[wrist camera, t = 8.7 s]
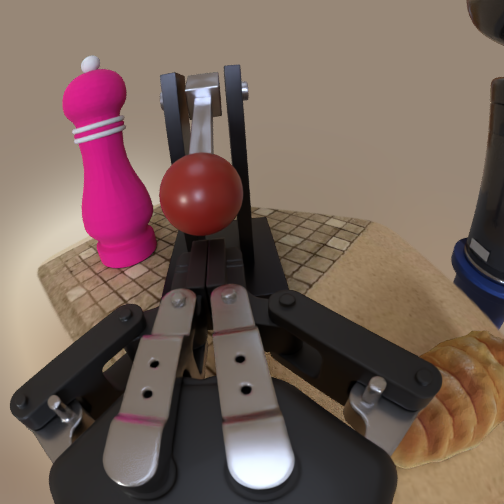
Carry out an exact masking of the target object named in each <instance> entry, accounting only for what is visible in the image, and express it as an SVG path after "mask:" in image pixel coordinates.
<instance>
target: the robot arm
mask: <svg viewBox="0 0 504 504" xmlns="http://www.w3.org/2000/svg"><path fill="white" fill-rule="evenodd" d="M467 8H468V12H469V16H470V18H471V20H472V22H473V24H474V25H475V26H476V28H477V29H478V30H479V31H480V32H481V33H482V34H483V35H485V36H486V37H488V38H489V39H491V40H493V41H494V42H496V43H498V44H501V45H503V46H504V0H467ZM490 102H491V103H490V116H489V131H488V142H487V150H486V158H485V165H484V170H483V176H482V181H481V187H480V192H479V197H478V201H477V205H476V210H475V214H474V218H473V222H472V225H471V229H470V232H469V236H468V239H467V241H466V243H465V246H464V250H463V252H464V256H465V258H466V260H467V262H468V263H469V264H470V266H471V267H472V268H473V269H474V270H475V271H476V272H478V273H479V274H480V275H481V276H483V277H484V278H486V279H487V280H489V281H491V282H493V283H495V284H497V285H500V286H503V287H504V77H498V78H495V79H493V80H492V82H491V88H490ZM208 330H214V333H213V345H214V355H215V364H216V373H217V375H216V376H212V377H209V378H205V370H206V361H207V351H208V341H207V334H208ZM123 348H124V349H125V351H126V352H127V353H126V354H125V355H123V356H122V357H121V358H120V359H119V360H118V361H117V362H115V363H114V364H113V365H112V366H111V367H110V368H109V369H107V370H106V371H105V372H102V370H103V366H104V365H105V364H106V363H107V362H108V361H109V360H110V359H111V358H112V357H114V356H115V355H116V354H117V353H118V352H119V351H121V350H122V349H123ZM265 352H270V354H271V356H272V357H273V358H274V359H275V360H277V361H278V362H279V363H281V364H282V365H283V366H285V367H286V368H288V369H289V370H291V371H292V372H293V373H295V374H296V375H298V376H299V377H301V378H302V379H303V380H305V381H306V382H308V383H309V384H311V385H312V386H314V387H315V388H317V389H318V390H320V391H321V392H323V393H324V394H326V395H327V396H329V397H330V398H332V399H333V400H335V401H336V402H338V403H340V404H341V405H343V406H344V409H343V415H344V418H345V420H346V421H347V423H348V424H350V425H351V426H352V427H353V428H354V429H355V430H354V429H352V428H351V427H349V426H348V425H347V424H345V423H344V422H342V421H341V420H339V419H338V418H337V417H335V416H334V415H332V414H331V413H330V412H328V411H327V410H325V409H324V408H323V407H321V406H320V405H319V404H317V403H316V402H315V401H313V400H312V399H311V398H309V397H308V396H307V395H305V394H304V393H303V392H301V391H300V390H299V389H297V388H296V387H295V386H293V385H291V384H289V383H287V382H285V381H283V380H280V379H277V378H273V377H271V375H270V371H269V368H268V364H267V360H266V356H265ZM441 386H442V375H441V373H440V371H439V369H438V368H437V367H436V366H435V365H433V364H432V363H430V362H428V361H426V360H424V359H422V358H420V357H418V356H416V355H415V354H413V353H411V352H409V351H407V350H405V349H403V348H401V347H399V346H397V345H396V344H394V343H392V342H390V341H388V340H386V339H384V338H382V337H381V336H379V335H377V334H375V333H373V332H371V331H369V330H367V329H366V328H364V327H362V326H360V325H358V324H356V323H354V322H353V321H351V320H349V319H347V318H345V317H343V316H341V315H340V314H338V313H336V312H334V311H332V310H330V309H328V308H327V307H325V306H323V305H321V304H319V303H317V302H316V301H314V300H312V299H310V298H308V297H306V296H305V295H303V294H301V293H299V292H297V291H294V290H281V291H278V292H275V293H274V294H272V295H271V296H270V297H269V299H265V298H259V297H256V296H254V295H252V294H251V293H249V291H248V290H247V288H246V282H245V274H244V266H243V258H242V252H241V251H240V250H239V249H238V248H237V247H231V248H226V244H225V238H217V239H209V240H199V241H193V242H192V248H191V252H185V253H182V254H181V255H180V257H179V258H178V259H177V263H176V268H175V273H174V277H173V282H172V287H171V291H170V292H168V293H167V294H166V295H165V296H164V297H163V298H162V300H161V304H160V306H158V307H156V308H154V309H150V310H147V311H144V312H143V311H142V309H141V307H140V306H138V305H135V304H126V305H123V306H121V307H119V308H117V309H116V310H114V311H113V312H112V313H111V314H109V315H108V316H107V317H106V318H104V319H103V320H102V321H100V322H99V323H98V324H97V325H95V326H94V327H93V328H92V329H90V330H89V331H88V332H87V333H85V334H84V335H83V336H82V337H80V338H79V339H78V340H77V341H75V342H74V343H73V344H72V345H71V346H69V347H68V348H67V349H66V350H64V351H63V352H62V353H61V354H59V355H58V356H57V357H56V358H55V359H54V360H52V361H51V362H50V363H49V364H47V365H46V366H45V367H44V368H43V369H41V370H40V371H39V372H38V373H37V374H36V375H34V376H33V377H32V378H31V379H30V380H29V381H27V382H26V383H25V384H24V385H23V386H21V387H20V388H19V389H18V390H17V391H16V392H15V393H14V394H13V396H12V398H11V401H10V410H11V412H12V414H13V415H14V416H15V417H16V418H17V419H18V420H19V421H21V422H22V423H23V424H24V425H25V426H26V427H27V428H28V429H29V430H30V431H32V432H33V433H34V435H35V436H36V438H37V440H38V441H39V443H40V444H41V446H42V448H43V449H44V451H45V452H46V454H47V455H48V457H49V458H50V460H51V461H52V463H53V465H52V467H51V470H50V475H49V486H50V491H51V494H52V497H53V500H54V503H55V504H392V501H393V497H394V494H395V491H396V487H397V479H398V478H397V470H396V466H395V464H394V462H393V460H392V458H391V456H392V454H393V453H394V451H395V450H396V448H397V447H398V445H399V444H400V442H401V441H402V439H403V438H404V436H405V435H406V433H407V431H408V430H409V428H410V427H411V425H412V423H413V422H414V420H415V419H416V418H417V417H418V416H419V415H420V414H421V412H422V411H423V410H424V409H425V408H426V407H427V405H428V404H429V403H430V402H431V400H432V399H433V398H434V397H435V395H436V394H437V393H438V392H439V390H440V389H441Z"/></svg>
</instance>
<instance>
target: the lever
mask: <svg viewBox="0 0 504 504" xmlns="http://www.w3.org/2000/svg"><path fill="white" fill-rule="evenodd" d="M185 95H186V101H187V107H188V113H189V118H190V120H192V127H191V137H190V149H189V155H186V156H184V157H182V158H180V159H179V160H177V161H176V162H175V163H173V164H172V165H171V166H170V168H169V169H168V170H167V171H166V173H165V175H164V177H163V179H162V182H161V186H160V194H159V197H160V204H161V208H162V211H163V213H164V215H165V216H166V218H167V219H168V221H169V222H170V223H171V224H172V225H173V226H174V227H176V228H177V229H178V230H180V231H182V232H184V233H187V234H190V235H196V236H206V235H211V234H214V233H217V232H219V231H221V230H223V229H224V228H226V227H227V226H228V225H229V224H230V223H231V222H232V221H233V220H234V219H235V217H236V216H237V214H238V212H239V210H240V208H241V205H242V200H243V187H242V182H241V179H240V177H239V175H238V173H237V171H236V170H235V168H234V167H233V166H232V165H231V164H230V163H229V162H228V161H226V160H225V159H224V158H222V157H220V156H218V155H215V154H213V117H217V116H221V115H222V111H221V96H220V86H219V75H218V72H213V73H205V74H197V75H191V76H188V78H187V82H186V87H185Z"/></svg>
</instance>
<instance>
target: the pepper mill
mask: <svg viewBox="0 0 504 504" xmlns="http://www.w3.org/2000/svg"><path fill="white" fill-rule="evenodd" d="M99 66H100V60H99V58H97V57H96V56H89V57H87V58H85V59H84V60H83V62H82V64H81V69H82V71H83V72H84V74H82V75H80V76H78V77H77V78H75V79H74V80H73V81H72V82H71V83H70V84H69V85H68V87H67V88H66V90H65V92H64V95H63V110H64V114H65V116H66V117H67V119H69V120H70V121H71V122H73V124H74V125H75V126H76V129H74V130H73V131H72V133H73V134H75V136H74V138H75V140H74V143H75V144H79V147H80V150H81V154H82V158H83V166H84V190H83V198H82V218H83V223H84V227H85V230H86V232H87V233H88V234H89V235H90V236H91V237H92V238H94V239H96V240H98V243H97V250H98V253H99V256H100V259H101V261H102V263H103V264H104V265H106V266H108V267H111V268H123V267H128V266H132V265H135V264H137V263H139V262H141V261H143V260H145V259H146V258H147V257H149V256H150V255H151V254H152V253H153V252H154V251H155V249H156V246H157V242H156V238H155V234H154V230H153V228H152V227H151V226H150V225H148V223H149V221H150V219H151V217H152V214H153V205H152V201H151V198H150V195H149V193H148V191H147V189H146V187H145V186H144V184H143V183H142V181H141V180H140V179H139V177H138V176H137V174H136V173H135V171H134V170H133V168H132V166H131V164H130V162H129V160H128V158H127V155H126V151H125V148H124V144H123V133H122V131H123V130H124V129H125V128H126V126H125V125H124V121H122V120H124V116H123V115H121V116H120V115H119V114H120V110H121V108H122V106H123V104H124V103H125V100H126V87H125V83H124V81H123V79H122V77H121V76H120V75H119V74H117V73H116V72H114V71H111V70H106V69H98V68H99Z"/></svg>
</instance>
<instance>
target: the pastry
mask: <svg viewBox="0 0 504 504" xmlns="http://www.w3.org/2000/svg"><path fill="white" fill-rule="evenodd" d="M419 357H420V358H422V359H424V360H426V361H428V362H430V363H432V364H433V365H435V366H436V367H437V368H438V369H439V371H440V373H441V375H442V386H441V389H440V390H439V392H438V393H437V394H436V395H435V397H434V398H433V399H432V400H431V402H430V403H429V404H428V405H427V407H426V408H425V409H424V410H423V411H422V412H421V414H420V415H419V416H418V417H417V418H416V419H415V420H414V422H413V423H412V425H411V427H410V428H409V430H408V431H407V433H406V435H405V436H404V438H403V439H402V441H401V442H400V444H399V445H398V447H397V448H396V450H395V451H394V453H393V454H392V456H391V458H392V460H393V462H394V464H395V465H396V466H398V467H401V468H404V469H409V468H412V467H415V466H419V465H423V464H426V463H429V462H441V461H443V460H445V459H448V458H450V457H452V456H454V455H456V454H458V453H460V452H463V451H467V450H471V449H473V448H475V447H477V446H478V445H479V444H480V443H481V441H482V440H483V439H484V437H485V436H486V435H487V434H489V433H490V432H491V431H492V430H493V429H494V428H495V427H496V426H497V425H498V424H499V423H501V422H502V421H504V340H503V339H501V338H499V337H495V336H493V335H492V334H491V333H489V332H488V331H471V332H470V333H469V334H468V335H466V336H463V337H458V338H454V339H451V340H446V341H445V342H441V343H439V344H438V345H437V346H436V347H434V348H433V349H432V350H430V351H429V352H427V353H425V354H423V355H421V356H419Z"/></svg>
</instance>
